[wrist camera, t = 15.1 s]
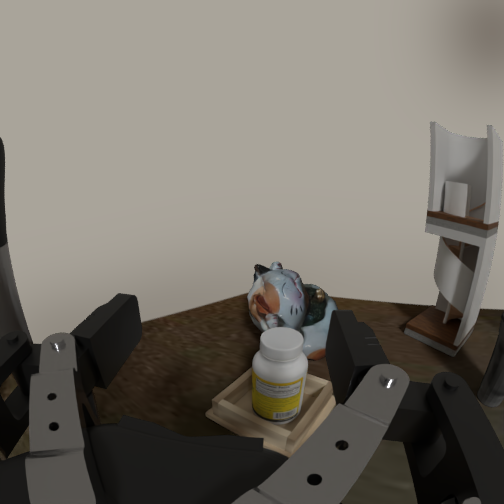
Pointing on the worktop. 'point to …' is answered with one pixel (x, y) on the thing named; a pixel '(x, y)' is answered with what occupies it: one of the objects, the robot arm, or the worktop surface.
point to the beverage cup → (494, 374)
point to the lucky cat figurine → (291, 306)
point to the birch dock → (275, 436)
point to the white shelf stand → (460, 233)
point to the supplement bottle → (279, 376)
